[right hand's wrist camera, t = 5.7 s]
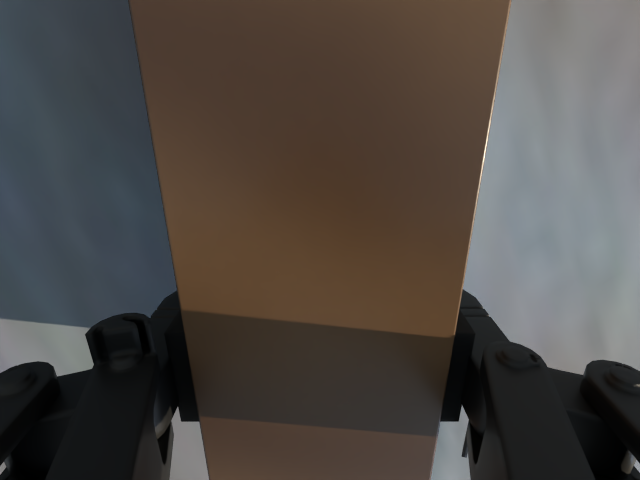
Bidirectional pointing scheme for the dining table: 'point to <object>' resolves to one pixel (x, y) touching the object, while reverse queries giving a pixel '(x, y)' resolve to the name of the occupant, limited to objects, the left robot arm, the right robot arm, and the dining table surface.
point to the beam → (319, 218)
